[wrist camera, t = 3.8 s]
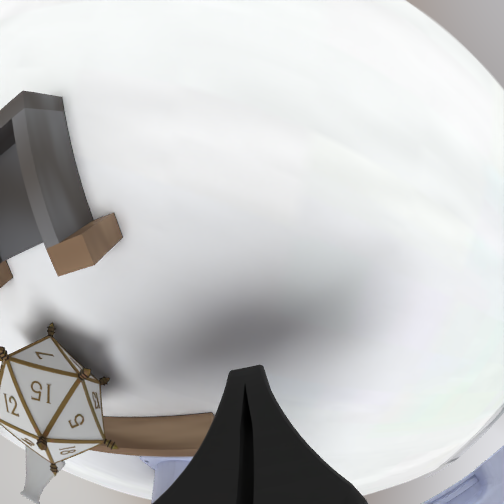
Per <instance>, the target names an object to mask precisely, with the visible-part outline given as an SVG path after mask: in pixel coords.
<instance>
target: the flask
mask: <svg viewBox="0 0 504 504" xmlns="http://www.w3.org/2000/svg"><path fill="white" fill-rule="evenodd" d="M50 465H51V463H50V462H48V461H47V460H45V459H44V458H42V457H41V456H40V455H38V454H37V453H35V452H34V451H33V450H31V449H30V448H29V447H27V446H26V482H25V487H24V490H23V492H21V495H23V496H24V497H26V498H27V499H29V500H31V501H33V502H34V503H36V504H40V502H39V498H40V495H41V493H42V491H43V489H44V487H45V486H46V485H47V484H48V483H49V482H50V480H51V479H52V478H53V477H54V476H55V475H54V474H53V472H52V471H51V470H50V469H51V468H50ZM64 465H65V463H64V462H62V461H61V462H58V463H56V466H57V467H58V468H57V469H58V472H59V471H60V470H61V469H62V468H63V467H64ZM58 472H57V473H58Z"/></svg>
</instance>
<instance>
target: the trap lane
mask: <svg viewBox="0 0 504 504" xmlns="http://www.w3.org/2000/svg"><path fill="white" fill-rule="evenodd" d="M122 238H123V237H122V234H121V231H120V229H119V226H118V223H117V220H116V217H115V215H114V213H112V214H109V215H106V216H104V217H101V218H99V219H96V220H93V218H92V216H91V213H90V210H89V207H88V204H87V201H86V198H85V194H84V191H83V188H82V185H81V181H80V178H79V174H78V171H77V167H76V163H75V159H74V155H73V151H72V147H71V143H70V138H69V134H68V129H67V124H66V119H65V113H64V107H63V101H62V97H58V96H52V95H47V94H41V93H35V92H28V91H22V92H21V93H20V94H18V95H17V96H16V97H15V98H14V99H12V100H11V101H10V102H9V103H8V104H7V105H6V106H5V107H3V108H2V109H1V110H0V288H1V287H2V286H3V285H5V284H6V283H7V282H8V281H9V280H10V279H12V278H13V276H12V274H11V272H10V269H9V267H8V265H7V262H6V260H7V259H9V258H11V257H13V256H15V255H17V254H19V253H21V252H23V251H25V250H27V249H29V248H32V247H34V246H36V245H38V244H40V243H43V242H44V245H45V247H46V250H47V252H48V255H49V257H50V259H51V262H52V264H53V266H54V268H55V271H56V273H57V275H58V276H61V275H64V274H67V273H71V272H74V271H77V270H80V269H83V268H87V267H90V266H93V265H95V264H96V263H97V262H98V261H99V260H100V259H101V258H102V257H103V256H104V255H105V254H106V253H107V252H108V251H109V250H110V249H111V248H112V247H113V246H114V245H115V244H116V243H117V242H119V241H120V240H121V239H122ZM213 419H214V415H213V414H212V413H203V414H193V415H182V416H166V417H103V421H104V429H105V436H106V439H107V440H111V441H112V442H115V444H116V445H117V447H118V448H119V449H112V450H111V448H109V447H107V445H106V444H104V443H103V444H101V445H99V446H97V447H94V448H92V449H90V450H93V451H99V452H107V453H115V454H124V455H136V456H154V457H192V456H194V455H195V453H196V452H197V450H198V449H199V447H200V445H201V444H202V442H203V440H204V438H205V436H206V434H207V432H208V430H209V428H210V426H211V424H212V422H213ZM0 425H1V424H0Z"/></svg>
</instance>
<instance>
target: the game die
mask: <svg viewBox="0 0 504 504" xmlns="http://www.w3.org/2000/svg"><path fill="white" fill-rule="evenodd" d="M47 328H48V330H47V332H48V336H46V337H44V338H42V339H40V340H38V341H36V342H34V343H32V344H30V345H28V346H25V347H23V348H21V349H19V350H17V351H15V352H13V353H11V354H9V355H8V354H7V351H5V348H4V347H0V361H2V364H1V369H0V424H1V425H2V426H3V427H4V428H5V429H6V430H8V431H9V432H10V433H11V434H12V435H13V436H15V437H16V438H17V439H18V440H20V441H21V442H22V443H23V444H25V445H26V446H27V447H29V448H30V449H31V450H33V451H34V452H35V453H37V454H38V455H40V456H41V457H42V458H44V459H45V460H47V461H48V462H50V463H51V465H50V468H51V469H50V470H51V471H52V472H53V474H54V475H55V476H56V474H57V472H58V469H57V468H58V467H57V466H56V463H58V462H61V461H63V460H66V459H68V458H71V457H73V456H76V455H78V454H81V453H83V452H85V451H87V450H90V449H92V448H94V447H97V446H99V445H101V444H103V443H104V444H106V445H107V447H109V448H111V450H112V449H119V448H118V447H117V445H116V444H115V442H112V441H111V440H107V439H106V436H105V429H104V421H103V411H102V400H101V386H100V385H105V384H107V383H108V381H109V379H110V378H106V377H103V378H100V380H97V379H96V378H95V377H94V376H93V375H92V374H91V369H87V368H84V367H83V366H82V365H81V364H79V363H78V362H77V361H76V360H75V359H74V358H73V357H72V356H71V355H70V354H69V353H68V352H67V351H66V350H65V349H64V348H63V347H62V346H61V345H60V344H59V343H58V342H57V341H56V340H55V339H54V337H53V335H54V333H55V332H54V331H55V328H54V325H53V323H51V324H50V325H49V327H47Z"/></svg>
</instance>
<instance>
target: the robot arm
mask: <svg viewBox="0 0 504 504" xmlns="http://www.w3.org/2000/svg"><path fill="white" fill-rule="evenodd" d="M139 458H140V459H141V460H142V461H143V462H145V463H146V464H147V465H148V466H150V467H151V468H152V469H154V470H155V477H154V485H153V493H152V502H151V504H368V503H367V501H366V500H365V498H364V497H363V496H362V495H361V494H360V493H359V491H358V490H357V489H356V488H355V487H354V486H353V485H352V484H351V483H350V482H349V481H347V480H346V479H345V478H343V477H342V476H341V475H340V474H338V473H337V472H336V471H335V470H334V469H333V468H331V467H330V466H329V465H328V464H327V463H326V462H325V461H324V460H323V459H322V458H321V457H320V456H319V455H318V454H317V453H316V452H315V451H314V450H313V449H312V448H311V447H310V446H309V445H308V444H307V443H306V442H305V440H304V439H303V438H302V437H301V436H300V434H299V433H298V432H297V431H296V429H295V428H294V427H293V425H292V424H291V423H290V421H289V420H288V418H287V417H286V415H285V414H284V412H283V411H282V409H281V408H280V406H279V404H278V402H277V401H276V399H275V397H274V395H273V393H272V391H271V389H270V386H269V382H268V379H267V376H266V373H265V370H264V367H263V366H262V365H256V366H252V367H247V368H242V369H237V370H231V371H230V372H229V375H228V379H227V383H226V387H225V390H224V393H223V396H222V399H221V402H220V404H219V407H218V410H217V412H216V415H215V417H214V419H213V422H212V424H211V426H210V428H209V430H208V432H207V434H206V436H205V438H204V440H203V442H202V444H201V445H200V447H199V449H198V450H197V452H196V453H195V455H194V456H192V457H154V456H140V457H139ZM421 504H504V446H502V447H501V448H500V449H499V450H498V451H497V452H496V453H494V454H493V455H492V456H491V457H489V458H488V459H487V460H486V461H484V462H483V463H482V464H481V465H480V466H478V467H477V468H476V469H475V470H474V471H473V472H472V473H470V474H469V475H467V476H466V477H465V478H463V479H462V480H460V481H459V482H457V483H456V484H454V485H453V486H451V487H449V488H448V489H446V490H444V491H443V492H441V493H439V494H438V495H436V496H434V497H432V498H431V499H429V500H427V501H425V502H424V503H421Z"/></svg>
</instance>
